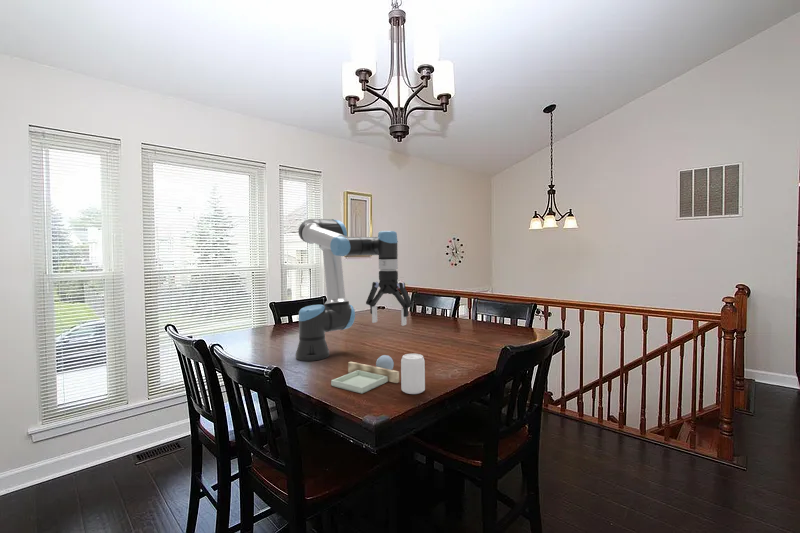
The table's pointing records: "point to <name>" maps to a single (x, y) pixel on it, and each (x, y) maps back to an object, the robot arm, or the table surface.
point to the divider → (374, 371)
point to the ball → (385, 362)
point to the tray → (359, 381)
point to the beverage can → (412, 373)
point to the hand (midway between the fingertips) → (389, 323)
